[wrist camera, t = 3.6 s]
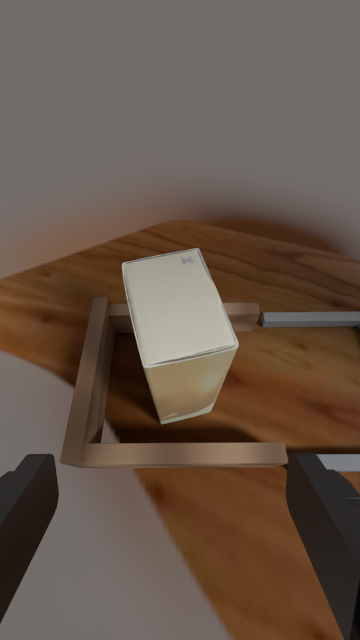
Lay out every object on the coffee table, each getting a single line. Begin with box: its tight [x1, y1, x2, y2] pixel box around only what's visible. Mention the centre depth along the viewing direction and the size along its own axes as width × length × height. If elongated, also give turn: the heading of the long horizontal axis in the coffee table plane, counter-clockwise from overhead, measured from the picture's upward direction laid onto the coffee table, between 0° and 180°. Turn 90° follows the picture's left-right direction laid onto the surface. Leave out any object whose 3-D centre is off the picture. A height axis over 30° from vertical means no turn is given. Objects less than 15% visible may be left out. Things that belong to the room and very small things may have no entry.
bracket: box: [261, 312, 360, 472], centre depth 23 cm, size 10×13×1 cm
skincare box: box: [122, 248, 238, 424], centre depth 18 cm, size 6×4×12 cm
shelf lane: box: [60, 297, 288, 468], centre depth 22 cm, size 14×12×4 cm
